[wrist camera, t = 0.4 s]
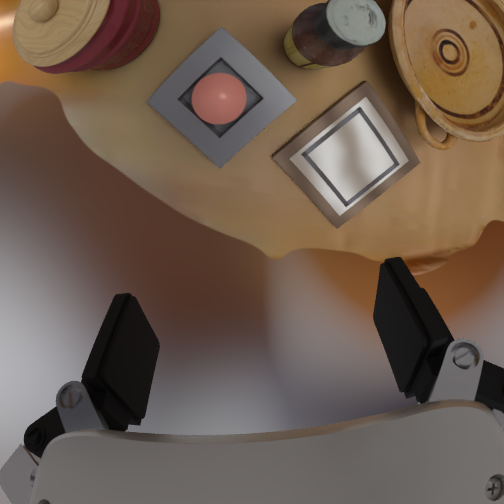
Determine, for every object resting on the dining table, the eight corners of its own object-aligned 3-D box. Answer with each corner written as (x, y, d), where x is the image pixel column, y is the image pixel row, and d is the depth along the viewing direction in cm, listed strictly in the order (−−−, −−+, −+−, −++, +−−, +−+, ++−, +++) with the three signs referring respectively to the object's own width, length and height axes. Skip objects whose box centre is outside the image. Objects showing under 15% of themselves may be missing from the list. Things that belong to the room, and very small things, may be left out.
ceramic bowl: (461, 168, 38) (491, 188, 31) (333, 97, 34) (354, 103, 27) (510, 28, 23) (542, 30, 16) (394, -63, 19) (420, -80, 12)
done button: (221, 63, 29) (219, 62, 27) (256, 97, 32) (258, 99, 29) (185, 97, 31) (180, 99, 29) (220, 130, 34) (218, 134, 31)
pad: (363, 80, 32) (367, 81, 31) (416, 160, 38) (421, 163, 37) (271, 155, 38) (272, 158, 37) (334, 224, 44) (337, 229, 42)
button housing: (224, 32, 29) (221, 26, 26) (291, 97, 34) (297, 100, 30) (155, 98, 33) (146, 101, 30) (222, 159, 38) (220, 168, 35)
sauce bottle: (339, 39, 29) (422, 16, 13) (319, 78, 32) (388, 84, 16) (292, 15, 28) (337, -38, 11) (270, 55, 31) (297, 32, 14)
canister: (58, 47, 27) (-32, 53, 12) (111, -29, 22) (38, -68, 7) (123, 86, 32) (44, 103, 17) (183, 6, 27) (137, -39, 12)
